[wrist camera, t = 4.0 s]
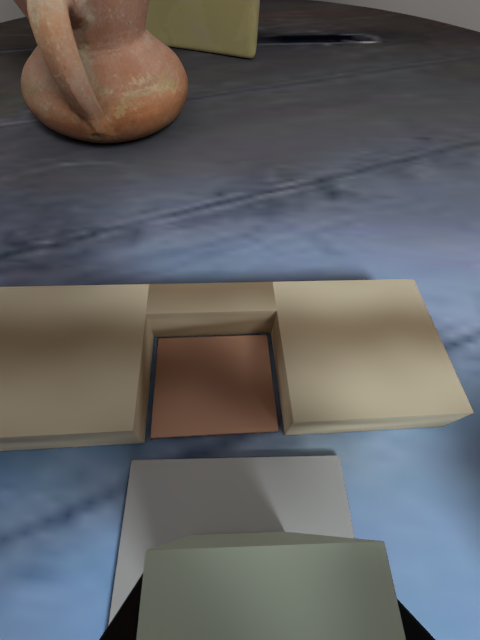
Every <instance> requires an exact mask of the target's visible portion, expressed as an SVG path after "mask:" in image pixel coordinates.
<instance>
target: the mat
mask: <svg viewBox="0 0 480 640" xmlns="http://www.w3.org/2000/svg"><path fill="white" fill-rule="evenodd" d="M259 532H295V533H305V534H315V535H325V536H335V537H345V538H355V537H354V531H353V526H352V520H351V515H350V509H349V504H348V498H347V493H346V487H345V482H344V476H343V471H342V465H341V460H340V455H339V456H294V457H249V458H204V459H160V460H132V461H131V468H130V475H129V482H128V489H127V496H126V503H125V511H124V518H123V525H122V532H121V539H120V546H119V553H118V560H117V567H116V574H115V581H114V589H113V596H112V603H111V610H110V617H109V624H110V623H111V621H112V619H113V618H114V616H115V615H116V613H117V612H118V610H119V609H120V607H121V606H122V604H123V603H124V601H125V600H126V598H127V596H128V595H129V593H130V592H131V590H132V589H133V587H134V586H135V584H136V583H137V581H138V580H139V578H140V577H141V575H142V573H143V571H144V561H145V552H146V550H148V549H151V548H154V547H157V546H160V545H163V544H166V543H169V542H172V541H175V540H178V539H181V538H184V537H187V536H190V535H203V534H231V533H259ZM109 624H108V626H109Z"/></svg>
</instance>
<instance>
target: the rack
mask: <svg viewBox="0 0 480 640" xmlns="http://www.w3.org/2000/svg"><path fill="white" fill-rule="evenodd" d="M270 333H271V337H272V345H273V352H274V360H275V368H276V375H277V383H278V390H279V398H280V405H281V413H282V420H283V428H284V435H300V434H318V433H336V432H355V431H373V430H391V429H409V428H427V427H443V426H445V425H448V424H450V423H452V422H454V421H457V420H459V419H461V418H463V417H466V416H468V415H470V414H472V413H474V412H473V409H472V407H471V405H470V403H469V401H468V398H467V396H466V394H465V392H464V390H463V387H462V385H461V383H460V381H459V379H458V376H457V374H456V372H455V370H454V367H453V365H452V363H451V361H450V359H449V356H448V354H447V352H446V350H445V348H444V345H443V343H442V341H441V339H440V337H439V334H438V332H437V330H436V328H435V325H434V323H433V321H432V319H431V317H430V314H429V312H428V310H427V308H426V306H425V303H424V301H423V299H422V297H421V295H420V292H419V290H418V288H417V286H416V284H415V281H414V279H392V280H339V281H286V282H234V283H181V284H128V285H76V286H23V287H0V451H11V450H29V449H47V448H65V447H83V446H101V445H119V444H137V443H145V433H146V422H147V411H148V400H149V389H150V378H151V367H152V356H153V345H154V337H174V336H206V335H238V334H270ZM278 431H279V429H278V420H277V412H276V404H275V396H274V388H273V380H272V372H271V364H270V356H269V348H268V340H267V335H246V336H214V337H182V338H159V339H158V351H157V363H156V375H155V387H154V400H153V412H152V424H151V436H150V438H151V439H152V438H171V437H189V436H207V435H226V434H244V433H263V432H278Z"/></svg>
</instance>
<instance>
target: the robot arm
mask: <svg viewBox="0 0 480 640" xmlns="http://www.w3.org/2000/svg"><path fill="white" fill-rule="evenodd" d="M142 580H143V573H142V575H141V577H140V578H139V580H138V581H137V583H136V584H135V586H134V587H133V589H132V590H131V592H130V593H129V595H128V596H127V598H126V600H125V601H124V603H123V604H122V606H121V607H120V609H119V610H118V612H117V613H116V615H115V616H114V618H113V619H112V621H111V623H110V624H109V626H108V627H107V629H106V630H105V632H104V633H103V635H102V636H101V638H100V639H99V640H136V637H137V628H138V618H139V609H140V599H141V590H142ZM397 602H398V606H399V611H400V615H401V620H402V624H403V629H404V633H405V638H406V640H435V639H434V638H433V637H432V636H431V635H430V633H429V632H428V631H427V630H426V629H425V628H424V627H423V626H422V625H421V624H420V623H419V622H418V621H417V620H416V618H415V617H414V616H413V615H412V614H411V613H410V612H409V611H408V610H407V609H406V608H405V607H404V606H403V605H402V603H401V602H400V601H399V600H398V599H397Z"/></svg>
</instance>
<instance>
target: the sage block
mask: <svg viewBox="0 0 480 640" xmlns="http://www.w3.org/2000/svg"><path fill="white" fill-rule="evenodd" d="M136 640H406V638H405V633H404V629H403V624H402V620H401V615H400V611H399V606H398V602H397V597H396V593H395V588H394V584H393V579H392V575H391V570H390V566H389V561H388V557H387V552H386V548H385V543H384V541H375V540H365V539H355V538H345V537H335V536H325V535H315V534H305V533H295V532H259V533H231V534H203V535H190V536H187V537H184V538H181V539H178V540H175V541H172V542H169V543H166V544H163V545H160V546H157V547H154V548H151V549H148V550H146V552H145V561H144V571H143V580H142V590H141V599H140V609H139V618H138V628H137V637H136Z"/></svg>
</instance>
